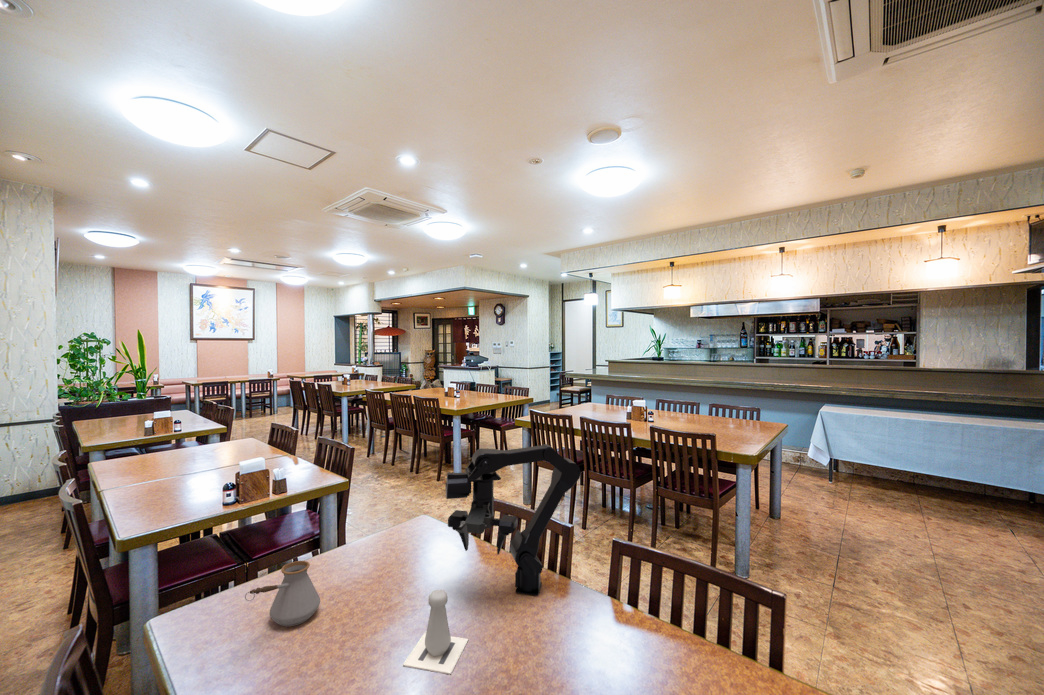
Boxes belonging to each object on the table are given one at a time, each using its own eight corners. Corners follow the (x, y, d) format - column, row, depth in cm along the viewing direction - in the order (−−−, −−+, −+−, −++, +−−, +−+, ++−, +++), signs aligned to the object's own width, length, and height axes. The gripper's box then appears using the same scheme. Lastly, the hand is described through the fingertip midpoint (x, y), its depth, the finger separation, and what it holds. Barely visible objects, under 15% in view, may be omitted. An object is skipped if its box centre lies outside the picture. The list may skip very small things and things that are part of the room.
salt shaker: (451, 657, 96) (451, 598, 96) (424, 661, 94) (425, 602, 94) (449, 640, 101) (450, 584, 101) (424, 643, 100) (425, 587, 100)
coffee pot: (290, 601, 117) (290, 546, 117) (329, 605, 115) (329, 549, 115) (224, 657, 96) (225, 590, 96) (271, 663, 94) (271, 594, 94)
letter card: (468, 640, 102) (468, 638, 102) (450, 674, 91) (450, 673, 91) (425, 633, 104) (425, 631, 104) (402, 666, 94) (402, 664, 94)
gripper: (440, 503, 114) (439, 562, 114) (508, 509, 111) (508, 570, 111) (455, 489, 125) (454, 543, 125) (518, 495, 121) (517, 550, 121)
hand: (482, 552), depth 120 cm, fingers open, 9 cm apart
